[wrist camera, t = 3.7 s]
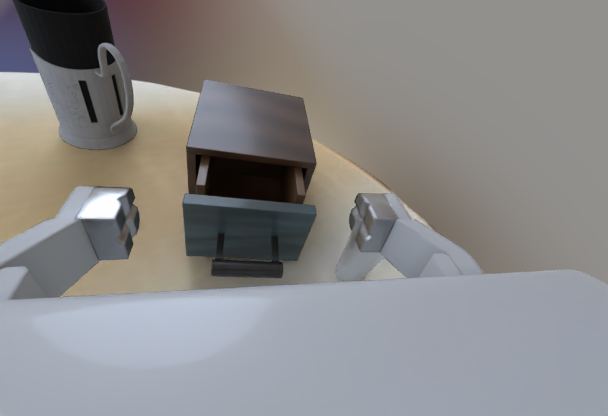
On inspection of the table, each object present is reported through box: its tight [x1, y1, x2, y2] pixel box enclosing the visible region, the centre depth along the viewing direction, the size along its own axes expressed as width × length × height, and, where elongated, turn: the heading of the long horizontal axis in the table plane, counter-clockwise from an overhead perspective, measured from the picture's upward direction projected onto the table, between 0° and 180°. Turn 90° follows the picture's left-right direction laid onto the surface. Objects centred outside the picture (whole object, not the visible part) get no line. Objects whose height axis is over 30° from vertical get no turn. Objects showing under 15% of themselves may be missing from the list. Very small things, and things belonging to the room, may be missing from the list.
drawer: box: [182, 155, 317, 278], centre depth 31 cm, size 17×11×8 cm
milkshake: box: [335, 232, 385, 282], centre depth 30 cm, size 4×5×10 cm
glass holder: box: [13, 0, 137, 150], centre depth 33 cm, size 9×14×15 cm, turn 52°
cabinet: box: [186, 80, 317, 194], centre depth 36 cm, size 14×13×10 cm
